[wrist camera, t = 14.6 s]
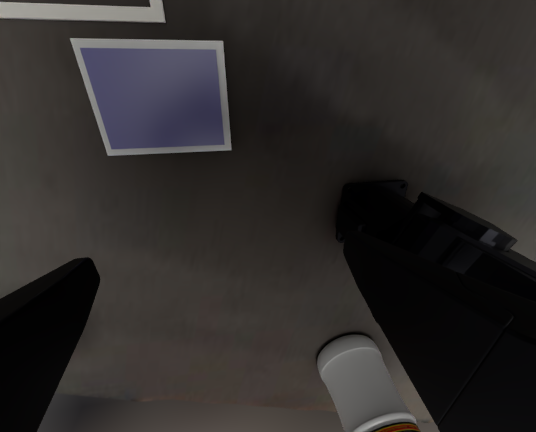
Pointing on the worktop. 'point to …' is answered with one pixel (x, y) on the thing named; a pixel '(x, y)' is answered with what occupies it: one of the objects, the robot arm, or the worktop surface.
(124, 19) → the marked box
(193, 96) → the ink pad
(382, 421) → the vodka
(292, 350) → the worktop surface
